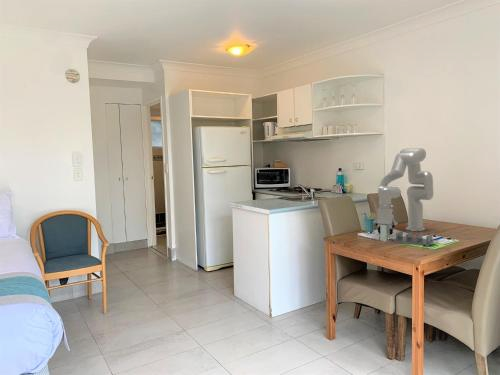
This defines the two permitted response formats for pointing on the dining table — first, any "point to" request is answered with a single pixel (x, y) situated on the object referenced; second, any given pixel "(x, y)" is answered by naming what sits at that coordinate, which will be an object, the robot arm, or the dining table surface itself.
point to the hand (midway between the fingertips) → (385, 233)
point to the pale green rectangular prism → (385, 231)
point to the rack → (414, 239)
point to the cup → (369, 222)
